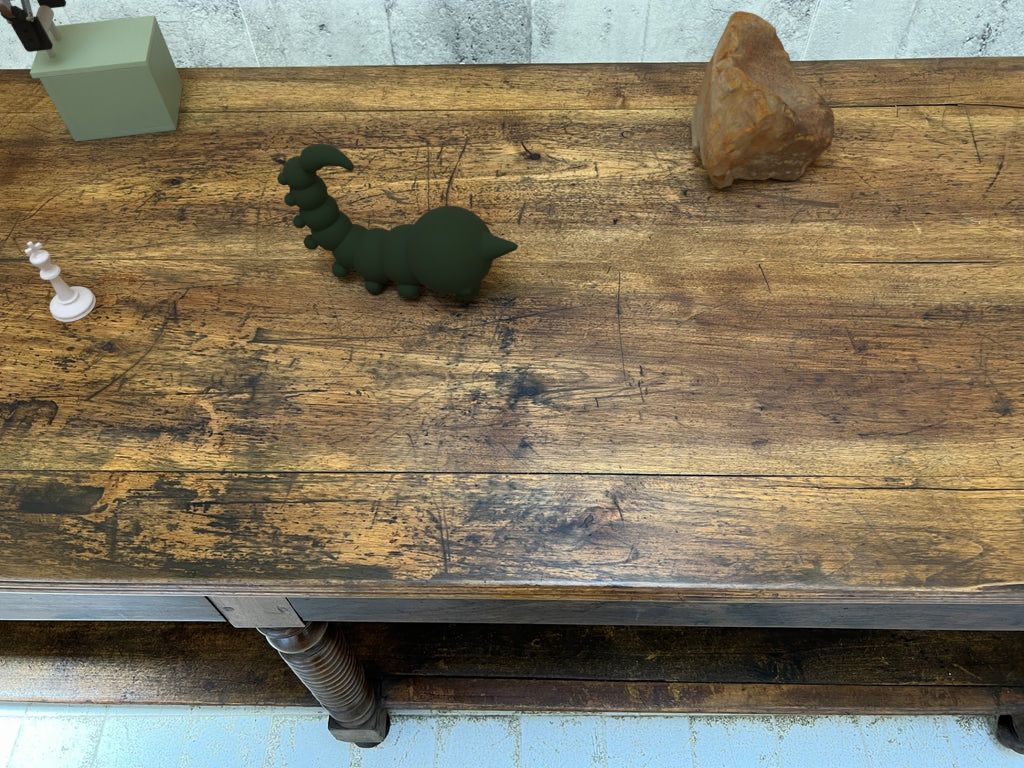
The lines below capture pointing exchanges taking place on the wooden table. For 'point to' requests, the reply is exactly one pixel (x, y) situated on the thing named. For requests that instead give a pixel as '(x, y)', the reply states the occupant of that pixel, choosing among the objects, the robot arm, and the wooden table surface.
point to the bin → (120, 97)
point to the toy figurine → (391, 236)
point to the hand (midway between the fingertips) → (47, 27)
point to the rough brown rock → (757, 109)
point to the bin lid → (93, 45)
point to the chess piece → (61, 288)
